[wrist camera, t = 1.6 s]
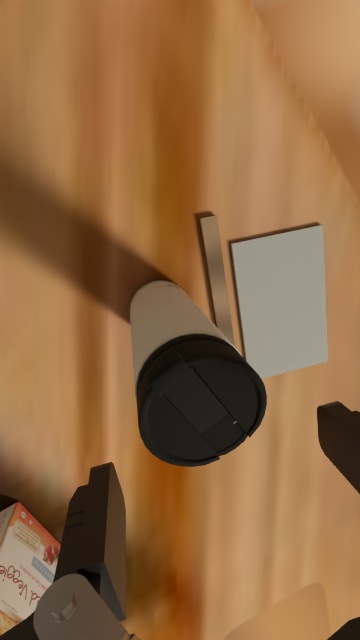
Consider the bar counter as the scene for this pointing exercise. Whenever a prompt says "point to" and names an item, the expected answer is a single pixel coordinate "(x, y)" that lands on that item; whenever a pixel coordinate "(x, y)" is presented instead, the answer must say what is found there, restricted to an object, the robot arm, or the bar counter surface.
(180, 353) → the travel mug
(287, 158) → the bar counter surface
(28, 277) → the bar counter surface
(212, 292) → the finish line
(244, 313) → the mat
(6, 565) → the cracker box
